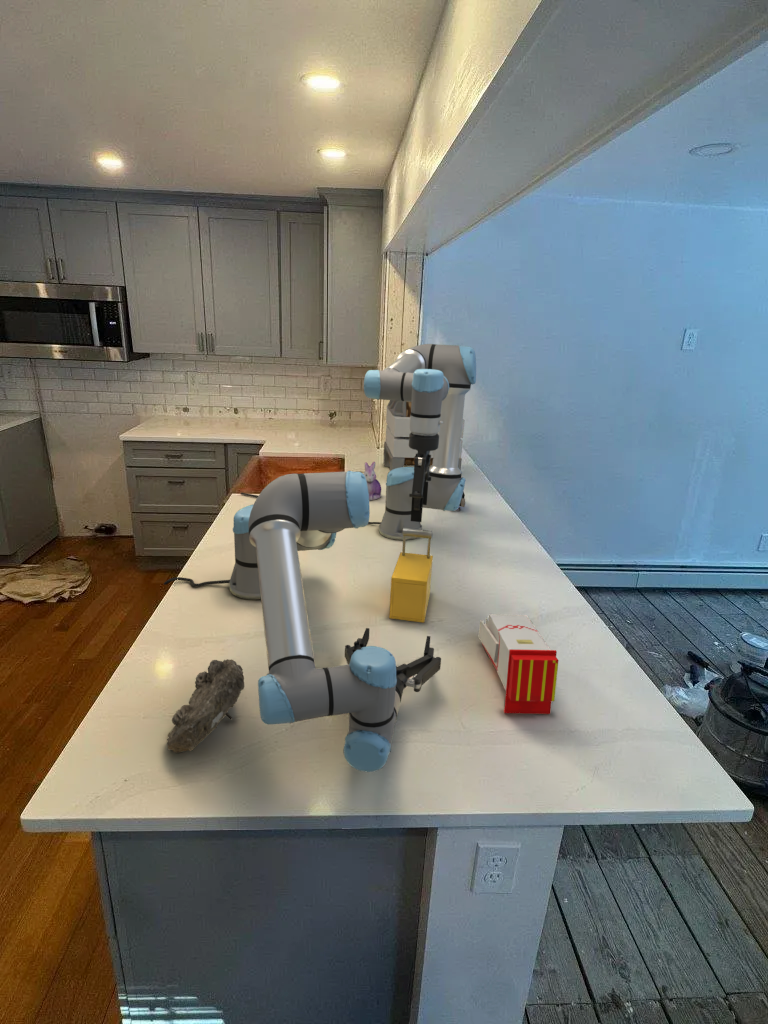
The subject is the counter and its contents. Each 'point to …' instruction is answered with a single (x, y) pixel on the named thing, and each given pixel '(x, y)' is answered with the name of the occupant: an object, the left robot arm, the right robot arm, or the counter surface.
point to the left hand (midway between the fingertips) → (397, 637)
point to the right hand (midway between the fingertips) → (419, 512)
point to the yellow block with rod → (413, 561)
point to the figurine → (372, 482)
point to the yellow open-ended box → (409, 600)
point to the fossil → (206, 705)
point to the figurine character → (462, 501)
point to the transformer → (402, 437)
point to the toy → (521, 662)
